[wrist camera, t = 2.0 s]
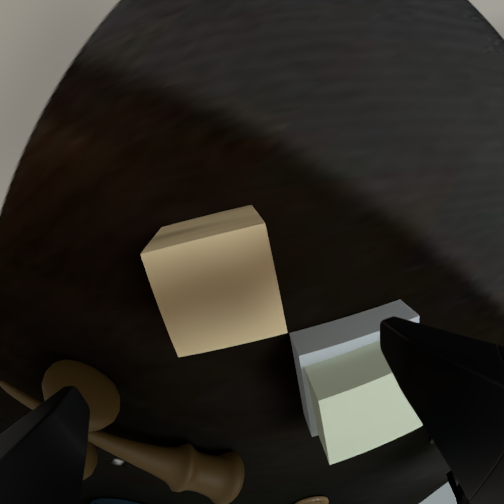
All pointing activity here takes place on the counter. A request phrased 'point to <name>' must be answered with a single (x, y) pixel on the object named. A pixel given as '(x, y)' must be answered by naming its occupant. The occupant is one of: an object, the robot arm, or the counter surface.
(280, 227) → the counter surface
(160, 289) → the maple cube
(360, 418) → the sage block
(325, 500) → the sprinkles bottle
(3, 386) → the kendama
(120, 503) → the canister
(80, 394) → the robot arm
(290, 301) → the counter surface
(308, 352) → the base block
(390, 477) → the counter surface
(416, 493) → the counter surface
